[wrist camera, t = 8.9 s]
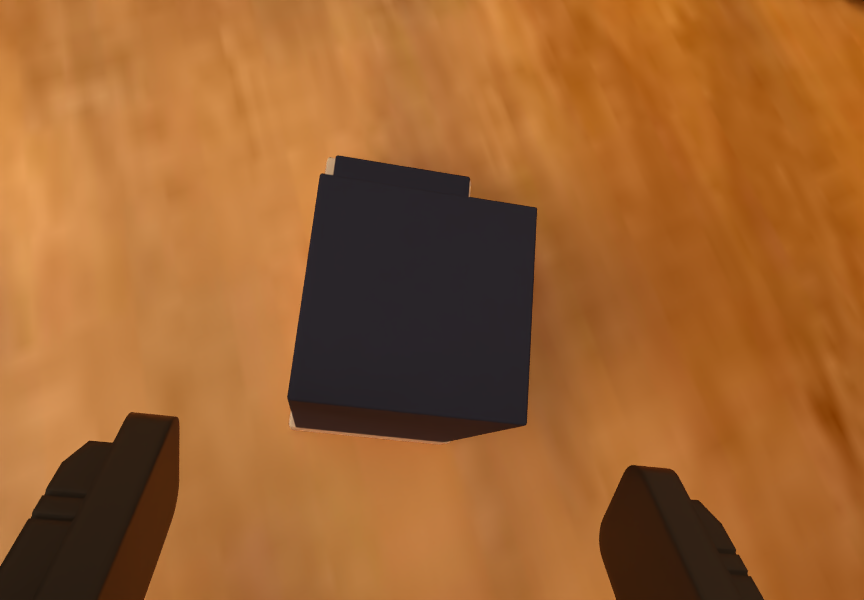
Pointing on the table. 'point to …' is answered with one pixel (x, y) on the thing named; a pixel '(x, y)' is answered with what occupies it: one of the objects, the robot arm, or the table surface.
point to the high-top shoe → (412, 308)
